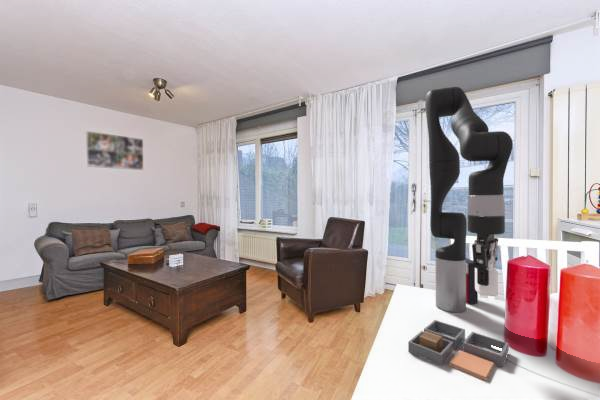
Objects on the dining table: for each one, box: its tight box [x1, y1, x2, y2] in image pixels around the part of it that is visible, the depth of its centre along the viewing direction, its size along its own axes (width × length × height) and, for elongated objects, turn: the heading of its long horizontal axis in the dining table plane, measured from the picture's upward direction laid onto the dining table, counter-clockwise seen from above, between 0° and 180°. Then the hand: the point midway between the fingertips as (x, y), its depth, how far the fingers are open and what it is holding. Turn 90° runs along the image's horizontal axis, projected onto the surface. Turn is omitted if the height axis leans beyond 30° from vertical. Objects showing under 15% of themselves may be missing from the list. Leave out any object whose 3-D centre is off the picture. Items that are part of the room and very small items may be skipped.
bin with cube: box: [407, 330, 454, 366], centre depth 66 cm, size 8×8×2 cm
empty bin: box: [423, 319, 466, 351], centre depth 73 cm, size 8×8×2 cm
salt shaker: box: [475, 256, 499, 297], centre depth 66 cm, size 4×4×10 cm
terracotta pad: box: [449, 349, 495, 382], centre depth 61 cm, size 7×7×1 cm
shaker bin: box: [462, 331, 510, 368], centre depth 66 cm, size 8×8×2 cm
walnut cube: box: [419, 331, 443, 353], centre depth 66 cm, size 4×4×4 cm
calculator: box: [466, 257, 479, 305], centre depth 100 cm, size 11×4×15 cm, turn 178°
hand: (485, 281), depth 66 cm, fingers closed on salt shaker, 5 cm apart
